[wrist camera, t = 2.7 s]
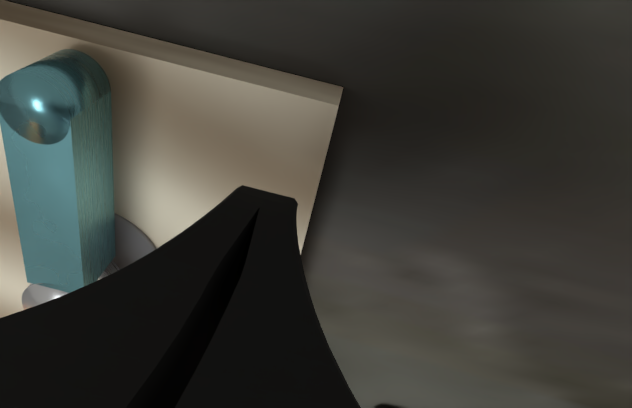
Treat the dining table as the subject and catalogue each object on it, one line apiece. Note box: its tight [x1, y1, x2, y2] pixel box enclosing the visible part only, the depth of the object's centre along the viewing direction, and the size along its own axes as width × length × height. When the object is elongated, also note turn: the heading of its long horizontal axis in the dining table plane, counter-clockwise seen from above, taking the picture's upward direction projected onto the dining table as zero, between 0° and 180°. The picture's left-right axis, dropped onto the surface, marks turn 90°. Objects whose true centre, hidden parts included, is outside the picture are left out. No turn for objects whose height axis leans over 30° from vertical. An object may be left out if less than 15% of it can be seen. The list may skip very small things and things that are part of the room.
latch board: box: [0, 0, 343, 318], centre depth 18 cm, size 16×18×2 cm
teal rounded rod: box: [0, 49, 120, 310], centre depth 14 cm, size 9×2×2 cm, turn 168°
